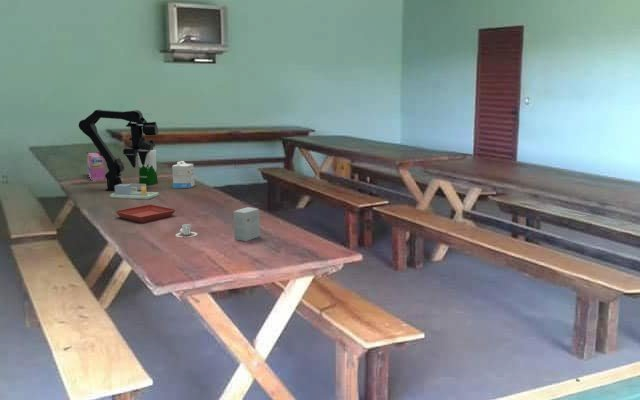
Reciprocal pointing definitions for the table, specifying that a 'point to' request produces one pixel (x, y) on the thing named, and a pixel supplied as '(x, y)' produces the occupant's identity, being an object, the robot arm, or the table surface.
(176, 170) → the ink box
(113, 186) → the robot arm
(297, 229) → the table surface
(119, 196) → the tray
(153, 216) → the plant saucer
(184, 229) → the charger with coiled cable
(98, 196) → the table surface
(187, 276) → the table surface
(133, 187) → the frame
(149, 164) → the milk carton
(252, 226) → the small box
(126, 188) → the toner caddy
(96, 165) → the pink product box
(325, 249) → the table surface
